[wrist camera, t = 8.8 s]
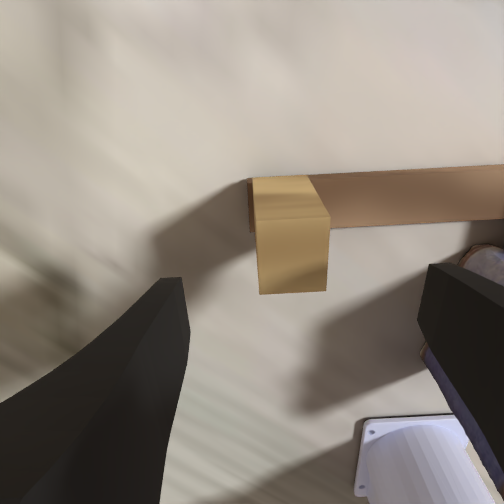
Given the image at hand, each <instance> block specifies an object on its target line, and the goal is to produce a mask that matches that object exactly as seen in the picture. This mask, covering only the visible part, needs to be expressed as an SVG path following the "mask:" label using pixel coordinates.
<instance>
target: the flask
mask: <svg viewBox="0 0 504 504" xmlns="http://www.w3.org/2000/svg"><path fill="white" fill-rule="evenodd" d="M457 266H460V267H463V268H465V269H467V270H470V271H472V272H474V273H476V274H479V275H481V276H483V277H485V278H487V279H489V280H492V281H494V282H496V283H498V284H500V285H502V286H504V250H503V249H502V248H499V247H496V246H492V245H490V244H484V245H474V246H472V248H471V250H469V252H468V253H467V254H465V256H464V257H463V258H462V259H461V260H460V262H459V264H458V265H457ZM420 356H421V358H422V360H423V361H424V363H425V365H426V367H427V368H428V369H429V371H430V373H431V374H432V376H433V378H434V379H435V380H436V382H437V384H438V386H439V388H440V390H441V392H442V393H443V395H444V397H445V399H446V401H447V403H448V406H449V408H450V409H451V411H452V412H453V414H454V415H455V417H456V418H457V419H458V421H459V423H460V424H461V426H462V427H463V429H464V431H465V434H466V435H467V437H468V438H469V440H470V441H471V443H472V445H473V447H474V449H475V451H476V452H477V454H478V456H479V458H480V460H481V461H482V464H483V466H484V467H485V469H486V470H487V472H488V474H489V476H490V478H491V479H492V480H493V482H494V484H495V486H496V489H497V491H498V492H499V493H500V495H501V496H502V498H503V501H504V473H503V471H502V469H501V467H500V465H499V463H498V461H497V459H496V457H495V455H494V454H493V452H492V450H491V448H490V446H489V444H488V442H487V440H486V438H485V436H484V434H483V433H482V431H481V429H480V428H479V426H478V424H477V422H476V421H475V419H474V417H473V416H472V414H471V413H470V411H469V410H468V408H467V407H466V405H465V404H464V402H463V400H462V399H461V397H460V396H459V394H458V393H457V391H456V390H455V388H454V386H453V385H452V383H451V382H450V380H449V379H448V377H447V376H446V374H445V372H444V371H443V369H442V368H441V366H440V365H439V363H438V361H437V360H436V358H435V357H434V355H433V353H432V352H431V350H430V348H429V346H428V344H427V342H425V345H424V346H423V348H422V350H421V351H420Z"/></svg>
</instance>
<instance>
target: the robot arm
mask: <svg viewBox="0 0 504 504" xmlns="http://www.w3.org/2000/svg"><path fill="white" fill-rule="evenodd" d="M417 321H418V324H419V326H420V328H421V331H422V333H423V335H424V337H425V339H426V342H427V344H428V346H429V348H430V350H431V352H432V353H433V355H434V357H435V358H436V360H437V361H438V363H439V365H440V366H441V368H442V369H443V371H444V372H445V374H446V376H447V377H448V379H449V380H450V382H451V383H452V385H453V386H454V388H455V390H456V391H457V393H458V394H459V396H460V397H461V399H462V400H463V402H464V404H465V405H466V407H467V408H468V410H469V411H470V413H471V414H472V416H473V417H474V419H475V421H476V422H477V424H478V426H479V428H480V429H481V431H482V433H483V434H484V436H485V438H486V440H487V442H488V444H489V446H490V448H491V450H492V452H493V454H494V455H495V457H496V459H497V461H498V463H499V465H500V467H501V469H502V471H503V473H504V286H502V285H500V284H498V283H496V282H494V281H492V280H489V279H487V278H485V277H483V276H481V275H479V274H476V273H474V272H472V271H470V270H467V269H465V268H463V267H460V266H457V265H455V264H452V263H440V264H429V267H428V272H427V276H426V281H425V286H424V290H423V295H422V300H421V304H420V309H419V313H418V318H417ZM190 333H191V332H190V326H189V320H188V314H187V308H186V302H185V296H184V290H183V284H182V278H181V277H175V278H160V279H159V280H158V281H157V282H156V283H155V284H154V285H153V286H152V287H151V288H150V289H149V290H148V291H147V292H146V293H145V294H144V295H143V296H142V297H141V298H140V299H139V300H138V301H137V302H136V303H135V304H133V305H132V306H131V307H130V308H129V309H128V310H127V311H126V312H125V313H124V314H123V315H122V316H121V317H120V318H119V319H118V320H116V321H115V322H114V323H113V324H112V325H111V326H109V327H108V328H107V329H106V330H105V331H104V332H102V333H101V334H100V335H99V336H98V337H97V338H96V339H94V340H93V341H92V342H91V343H89V344H88V345H87V346H86V347H84V348H83V349H82V350H81V351H79V352H78V353H77V354H75V355H74V356H72V357H71V358H70V359H68V360H67V361H66V362H64V363H63V364H61V365H60V366H59V367H57V368H56V369H54V370H53V371H51V372H50V373H48V374H47V375H45V376H44V377H42V378H40V379H39V380H37V381H36V382H34V383H32V384H31V385H29V386H28V387H26V388H24V389H23V390H21V391H20V392H18V393H17V394H15V395H13V396H12V397H10V398H8V399H7V400H5V401H3V402H2V403H0V504H159V502H160V495H161V487H162V480H163V473H164V466H165V459H166V452H167V447H168V442H169V437H170V433H171V428H172V424H173V420H174V416H175V412H176V408H177V404H178V400H179V395H180V391H181V387H182V383H183V379H184V375H185V370H186V366H187V360H188V352H189V343H190ZM468 441H469V438H468V437H467V435H466V434H465V431H464V429H463V427H462V426H461V424H460V423H459V421H458V419H457V418H456V417H455V415H439V416H420V417H402V418H383V419H369V420H367V421H365V423H364V426H363V432H362V439H361V445H360V452H359V458H358V465H357V471H356V478H355V484H354V493H355V495H356V496H357V497H367V498H368V501H369V504H496V503H495V501H494V500H493V498H492V496H491V494H490V493H489V491H488V489H487V487H486V486H485V484H484V482H483V480H482V479H481V477H480V475H479V473H478V472H477V470H476V468H475V466H474V465H473V463H472V461H471V459H470V458H469V456H468V454H467V452H466V451H465V449H466V446H467V444H468Z"/></svg>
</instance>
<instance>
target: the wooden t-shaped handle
mask: <svg viewBox="0 0 504 504" xmlns="http://www.w3.org/2000/svg"><path fill="white" fill-rule="evenodd" d="M247 188H248V206H249V224H250V232H255V240H256V254H257V267H258V281H259V294H260V295H262V294H281V293H299V292H318V291H326V285H327V268H328V252H329V236H330V228H340V227H358V226H377V225H396V224H414V223H433V222H451V221H470V220H488V219H504V164H502V165H484V166H465V167H447V168H428V169H410V170H391V171H373V172H354V173H336V174H317V175H294V176H276V177H257V178H247Z"/></svg>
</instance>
